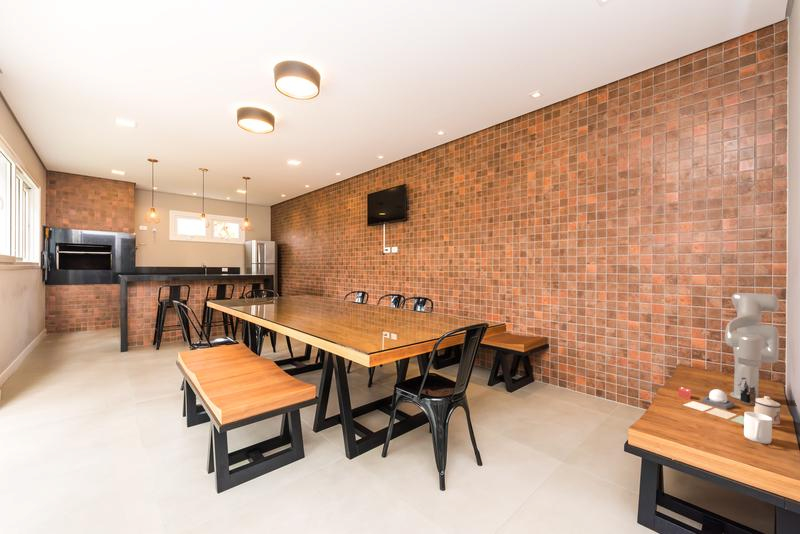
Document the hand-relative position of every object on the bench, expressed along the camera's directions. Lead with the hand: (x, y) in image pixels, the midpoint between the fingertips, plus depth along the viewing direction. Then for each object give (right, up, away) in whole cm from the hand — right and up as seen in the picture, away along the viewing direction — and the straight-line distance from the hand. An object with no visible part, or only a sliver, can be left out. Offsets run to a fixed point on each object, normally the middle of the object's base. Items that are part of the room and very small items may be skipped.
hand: (747, 400), depth 162 cm
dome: (+4, -9, +20) cm, 23 cm away
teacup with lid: (+14, -12, +5) cm, 19 cm away
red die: (-5, -11, +30) cm, 32 cm away
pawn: (0, -2, 0) cm, 2 cm away
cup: (-11, -12, -15) cm, 22 cm away
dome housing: (+4, -11, +20) cm, 23 cm away
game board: (-4, -11, +9) cm, 15 cm away
